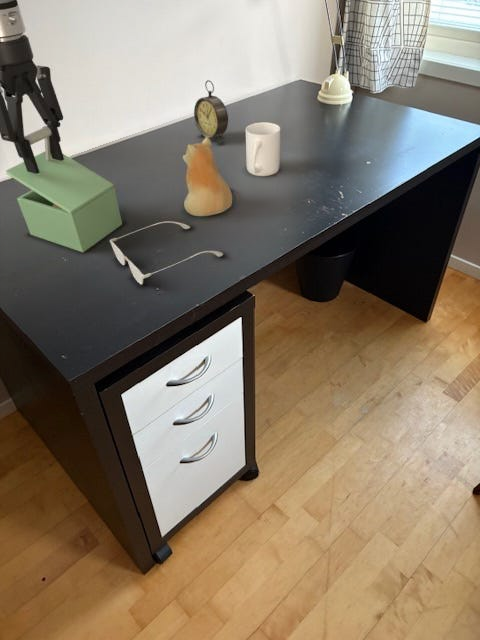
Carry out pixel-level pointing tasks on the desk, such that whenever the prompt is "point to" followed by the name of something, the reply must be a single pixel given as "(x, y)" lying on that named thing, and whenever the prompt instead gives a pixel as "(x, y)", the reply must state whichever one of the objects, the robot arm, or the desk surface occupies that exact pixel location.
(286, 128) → the desk surface
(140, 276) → the eyeglasses
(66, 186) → the green box lid
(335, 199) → the desk surface
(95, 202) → the green rectangular box
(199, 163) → the figurine
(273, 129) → the mug
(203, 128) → the alarm clock
